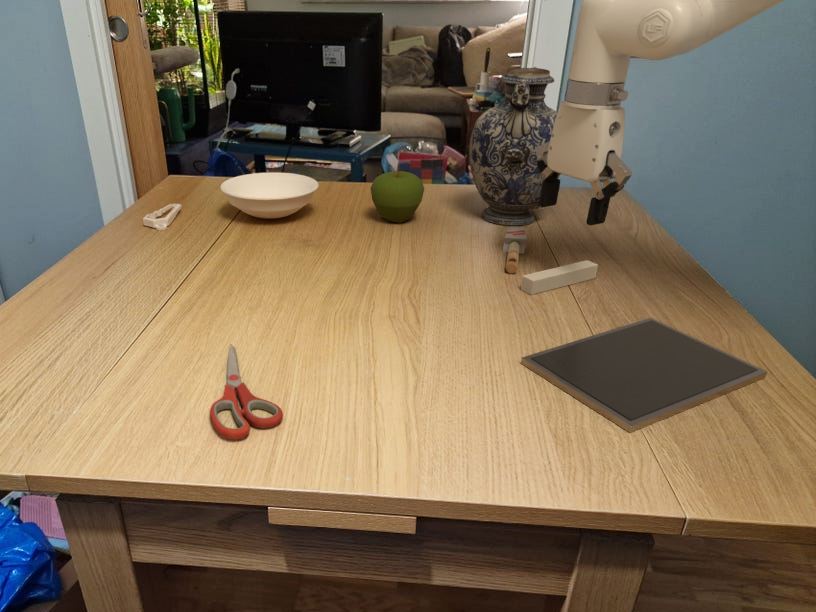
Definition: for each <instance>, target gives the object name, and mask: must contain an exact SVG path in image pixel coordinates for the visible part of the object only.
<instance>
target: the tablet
mask: <svg viewBox="0 0 816 612" xmlns="http://www.w3.org/2000/svg"><path fill="white" fill-rule="evenodd" d="M520 364H521V365H523V366H524V367H526V368H527V369H529V370H530V371H532V372H533V373H534V374H537V375H539V377H542V378H543V379H544V380H546V381H547V382H549V383H551V384H553V385H554V386H556V387H557V388H558V389H560V390H562V391H563V392H565V393H566V394H568V395H569V396H571V397H573V398H574V399H576V400H577V401H579V402H581V403H582V404H584V405H585V406H587V407H589V408H590V409H592V410H593V411H595V412H597V413H598V414H600V415H601V416H603V417H604V418H605V419H607V420H609V421H610V422H612V423H614V424H616V426H618V427H620V428H622V429H623V430H625V431H626V432H627V433H634V432H635V431H638V430H640V429H643V428H645V427H648V426H650V425H652V424H655V423H658V422H660V421H662V420H665V419H667V418H669V417H673V416H674V415H677V414H679V413H682V412H684V411H687V410H690V409H692V408H694V407H697V406H699V405H702V404H704V403H706V402H709V401H711V400H714V399H716V398H719V397H721V396H724V395H726V394H729V393H731V392H734V391H736V390H739V389H741V388H743V387H745V386H748V385H750V384H753V383H755V382H759V381H760V380H762V379H766V377H767V374H768V371H767V370H765V369H763V368H761V367H759V366H756V365H754V364H752V363H750V362H747V361H745V360H743V359H741V358H739V357H737V356H735V355H732V354H730V353H729V352H726V351H725V350H722V349H720V348H718V347H715V346H713V345H711V344H709V343H706V342H704V341H702V340H700V339H698V338H697V337H693V336H691V335H690V334H688V333H685V332H683V331H681V330H678V329H676V328H674V327H672V326H670V325H667V324H665V323H663V322H661V321H659V320H657V319H655V318H652V317H649V318H645V319H642V320H639V321H636V322H633V323H629V324H626V325H622V326H619V327H616V328H613V329H609V330H606V331H603V332H600V333H596V334H594V335H590V336H587V337H583V338H580V339H576V340H574V341H571V342H567V343H564V344H561V345H557V346H554V347H552V348H548V349H545V350H541V351H538V352H535V353H532V354H529V355H526V356H522V357H521V358H520Z"/></svg>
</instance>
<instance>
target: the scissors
mask: <svg viewBox="0 0 816 612" xmlns="http://www.w3.org/2000/svg"><path fill="white" fill-rule="evenodd" d="M241 379H242V377H241V374H240V367H239V362H238V354H237V350H236V347H235V346H234V345H233V344H232V343H230V345H229V348H228V355H227V364H226V384H224V390H223V395H222V396H221V398H219V399H217V400H216V401H214V402H213V403H212V404H211V406H210V409H209V416H210V421H211V424H212V426H213V427H214V429H215V430H216V432H217V433H218V434H219V435H220V436H222V437H223V438H225V439H229V440H240V439H244V438H245V437H247V436H248V435H249V434H250V431H251V426H253V427H256V428H259V429H267V428H268V429H269V428H272V427H276V426H277V425H279V424H280V423H281V422H282V420H283V418H284V412H283V409H281V407H280V406H279V405H277V404H276V403H274V402H272V401H270V400H267V399H263V398H261V397H258V396H255V395H254V394H253V393H252V392H251V391H250V389H249V388H248V387H247V385H246V383H245V382H242V380H241ZM238 399H239V402H240V405H241V407H242V409H241V408H240V407H239V406H240V405H239V402H238ZM254 409H260V410H265V411H267V412H270V413H271V414H273V415H272V416H269V417H260V416H257V415H256V414H254V413H253V412H252V410H254ZM223 410H231V414H232V416H233V419H234V421H235V422H236V424H237V425H238V427H236V428H235V427H234V428H233V427H227V426H226V425H225V424H223V422H222V421H221V420H220V418H219V415H218V413H219V412H221V411H223Z"/></svg>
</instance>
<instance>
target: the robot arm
mask: <svg viewBox="0 0 816 612" xmlns="http://www.w3.org/2000/svg"><path fill="white" fill-rule="evenodd" d="M784 1H786V0H582V2H581V4H580V6H579V12H578V18H577V23H576V28H575V29H576V30H575V35H574V41H573V47H572V52H571V59H570V63H569V64H570V65H569V70H568V75H567V81H566V87H565V92H564V98H563V99H564V100H563V101H561V103H560V106H559V108H558V111H557V112H558V113H557V116H556V120H555V123H554V127H553V130H552V134H551V139H550V142H547V143H545V144H543V145H540V146H538V147H536V155H537V160H538V162H537V166H538V168H539V171H540V173H541V174H540V179H541V180H542V181H543V182H542V188H541V194H540V200H539V206H540V207H539V208H547V207H551V206H552V207H553V206H556V205H557V203H558V198H559V192H560V187H561V179H559V178H560V176H561V175H562V176H563V175H564V176H567V177H570V178H573V179H576V180H578V181H579V180H580V181H583V182H587V183H590V185H591V188H592V191H593V193H594V195H595V197H591V199H590V202H589V207H588V212H587V217H586V222H585V223H586V225H588V226H595V225H602V224H604V223H605V221H606V218H607V215H608V211H609V206H610V202H611V198H614V197H615V196H616V195H617V194H618V193H619V192H621V191H622V190H623V189H624V187H625V185H626V184H627V182H628V181H629V180H630V178H631V177H632V176H633V171H632V170H631V168H629V167H628V165H627V164H626V163H625V162H624V161H623V160H622V154H623V147H624V140H625V131H626V130H625V128H626V111H625V110H626V109H625V107H622V106H621V104H622V102H625V101H626V100H627V99H628V96H629V92H628V90H627V89H625V87H626V81H627V76H628V71H629V67H630V62H631V57H634V58H635V57H636V58H639V59H644V60H649V61H661V60H662V61H663V60H667V59H671V58H673V57H676V56H681V55H684V54H688V53H689V52H691V51H694V50H696V49H698V48H700V47H702V46H703V45H706V44H707V43H709V42H711V41H712V40H714V39H716V38H718V37H720V36H721V35H724V34H725V33H727V32H729V31H731V30H733V29H735V28H736V27H738V26H740V25H742V24H744V23H746V22H747V21H750V20H751V19H753V18H754V17H756V16H759V15H760V14H761V13H763V12H765V11H767V10H769V9H771V8H772V7H774V6H776V5H778V4H780V3H783V2H784ZM558 177H559V178H558ZM557 178H558V179H557Z"/></svg>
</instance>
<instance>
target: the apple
mask: <svg viewBox="0 0 816 612" xmlns="http://www.w3.org/2000/svg"><path fill="white" fill-rule="evenodd" d="M424 192H425V186H424V183H423V180H422V179H421V178H420V177H419V176H417V175H416V174H415V173H412V172H409V171H405V170H394V171H388V172H383V173H382V174H379V175H378V176H377V177H374V180H373V182H372V184H371V186H370V194H371V195H370V196H371V200H372V202H373V204H374V206H375V209H376V211H377V214H378V215H379V216H380V217H382V218H384V219H385V220H386V221H389V222H393V223H404V222H406V221H407V220H409V219H410V218H411V217H413V216H414V215H415V213H416V211H417V210H418V208H419V206H420V205H421V203H422V200H423V197H424Z"/></svg>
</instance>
